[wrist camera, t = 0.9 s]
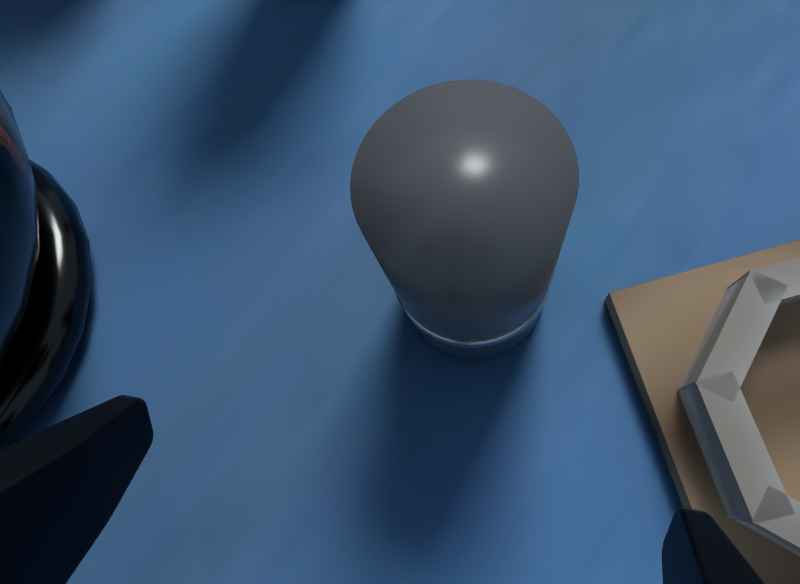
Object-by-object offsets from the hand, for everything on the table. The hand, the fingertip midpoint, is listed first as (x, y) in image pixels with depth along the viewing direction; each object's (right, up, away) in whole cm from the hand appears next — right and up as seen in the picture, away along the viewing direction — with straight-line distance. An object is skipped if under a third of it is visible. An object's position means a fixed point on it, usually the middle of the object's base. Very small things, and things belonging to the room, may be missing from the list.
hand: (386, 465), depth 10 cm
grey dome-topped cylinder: (+3, +3, +14) cm, 15 cm away
